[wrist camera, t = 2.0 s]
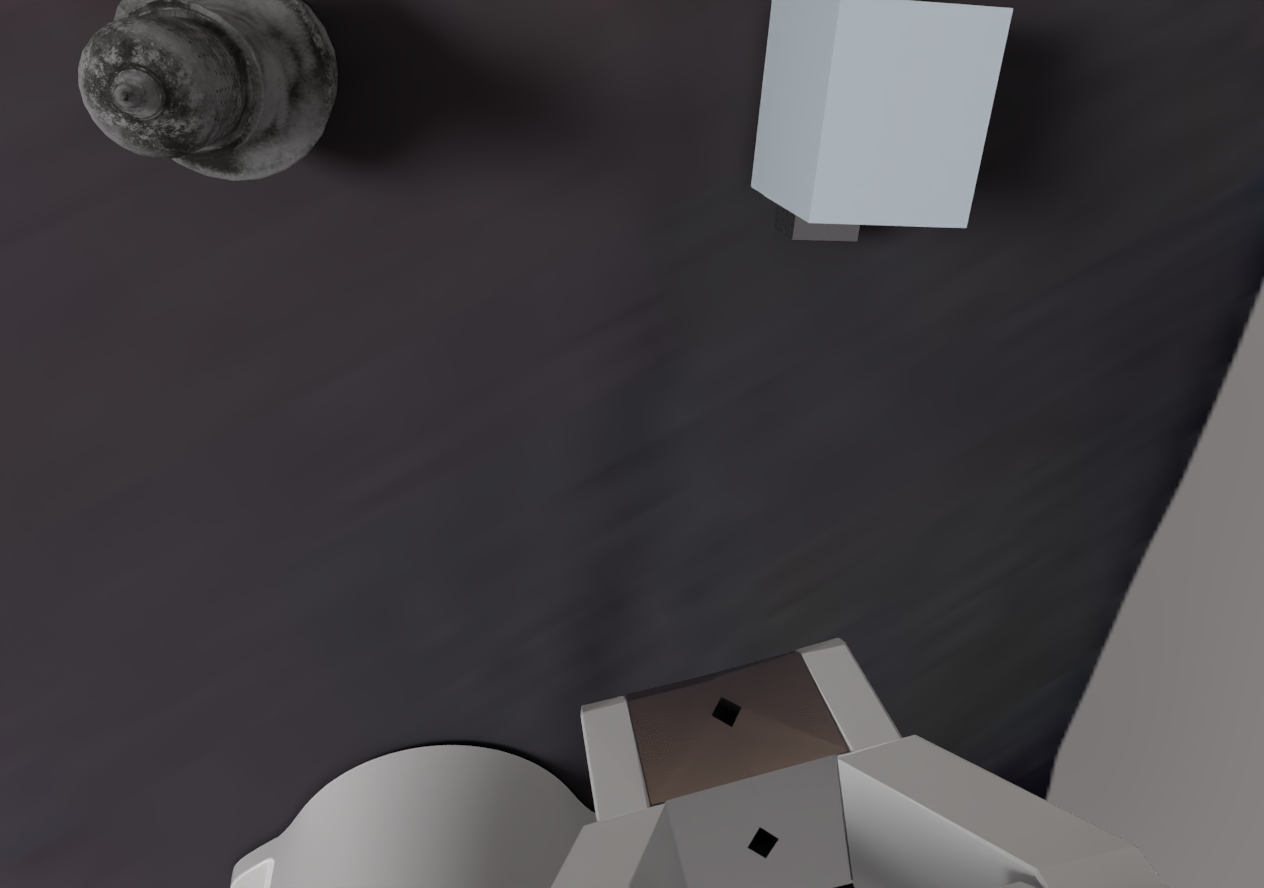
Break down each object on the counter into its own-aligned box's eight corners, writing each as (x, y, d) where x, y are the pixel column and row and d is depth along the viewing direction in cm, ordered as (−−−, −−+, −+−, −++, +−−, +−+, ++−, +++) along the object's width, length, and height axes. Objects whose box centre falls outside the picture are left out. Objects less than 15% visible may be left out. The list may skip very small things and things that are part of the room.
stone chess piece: (313, -56, 28) (216, -101, 17) (371, 144, 30) (318, 214, 20) (117, -19, 27) (-111, -43, 16) (192, 180, 30) (38, 272, 19)
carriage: (882, 191, 33) (966, 227, 28) (749, 186, 32) (808, 223, 27) (913, 9, 31) (1013, 8, 25) (770, -2, 30) (840, -6, 24)
